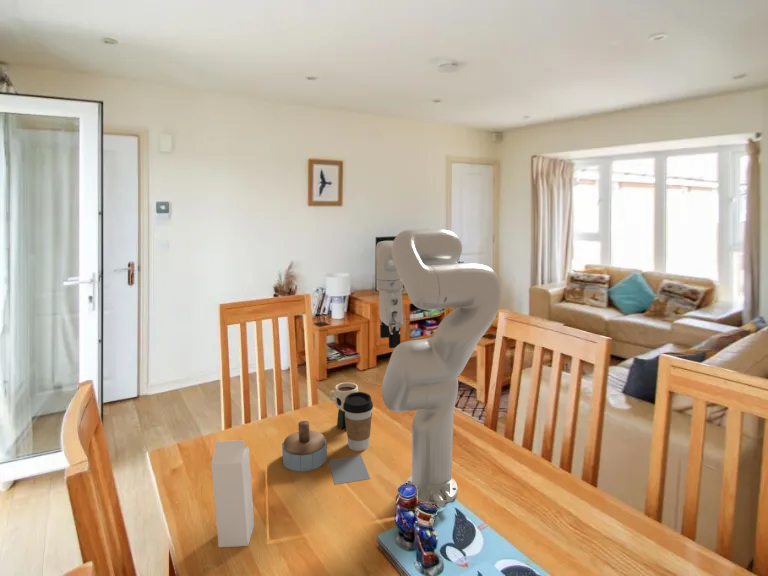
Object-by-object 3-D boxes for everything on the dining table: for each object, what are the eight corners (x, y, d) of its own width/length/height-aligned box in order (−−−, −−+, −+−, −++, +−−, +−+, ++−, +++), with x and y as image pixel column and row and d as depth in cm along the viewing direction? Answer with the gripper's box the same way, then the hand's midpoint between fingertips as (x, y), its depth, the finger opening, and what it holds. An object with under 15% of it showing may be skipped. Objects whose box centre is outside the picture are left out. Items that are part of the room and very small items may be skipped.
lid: (285, 457, 118) (284, 435, 117) (283, 436, 128) (282, 416, 127) (327, 451, 121) (326, 430, 119) (322, 431, 131) (321, 411, 130)
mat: (370, 480, 116) (370, 478, 116) (334, 486, 114) (334, 484, 114) (361, 457, 127) (361, 455, 127) (328, 462, 124) (328, 460, 124)
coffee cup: (375, 439, 136) (374, 392, 133) (371, 455, 127) (370, 405, 125) (347, 438, 137) (345, 391, 134) (341, 454, 128) (340, 403, 125)
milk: (226, 527, 100) (218, 433, 96) (255, 526, 101) (248, 432, 96) (218, 548, 94) (209, 449, 90) (248, 546, 95) (240, 447, 90)
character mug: (326, 429, 142) (325, 389, 139) (334, 418, 149) (333, 380, 146) (360, 433, 139) (359, 393, 137) (367, 422, 146) (366, 383, 144)
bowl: (329, 469, 121) (328, 451, 120) (284, 476, 118) (283, 458, 117) (323, 446, 132) (323, 430, 131) (282, 452, 129) (281, 436, 128)
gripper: (411, 289, 124) (411, 350, 128) (393, 278, 141) (394, 333, 144) (384, 291, 122) (385, 352, 126) (369, 280, 139) (370, 335, 142)
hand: (389, 342), depth 135 cm, fingers open, 9 cm apart
